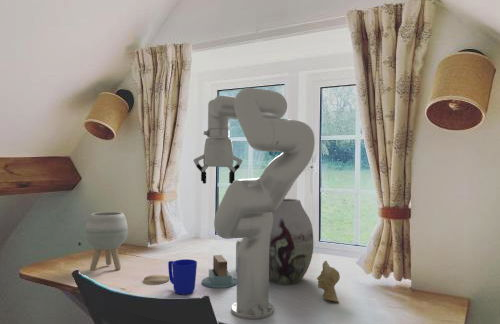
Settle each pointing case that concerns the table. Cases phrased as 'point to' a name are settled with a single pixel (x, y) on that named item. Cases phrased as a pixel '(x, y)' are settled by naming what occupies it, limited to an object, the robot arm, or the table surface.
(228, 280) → the teal candle holder
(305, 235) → the vase
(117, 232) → the planter
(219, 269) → the block
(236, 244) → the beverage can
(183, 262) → the mug
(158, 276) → the cork lid
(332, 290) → the tan head bust
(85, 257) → the table surface
